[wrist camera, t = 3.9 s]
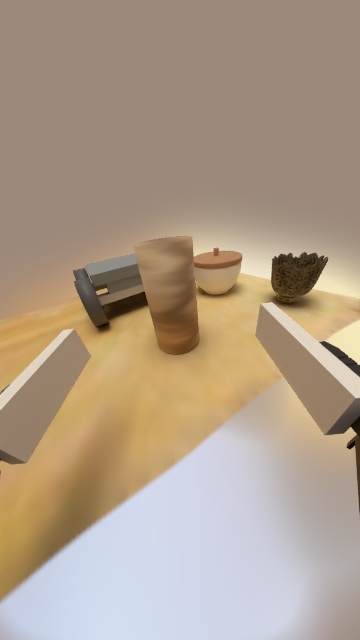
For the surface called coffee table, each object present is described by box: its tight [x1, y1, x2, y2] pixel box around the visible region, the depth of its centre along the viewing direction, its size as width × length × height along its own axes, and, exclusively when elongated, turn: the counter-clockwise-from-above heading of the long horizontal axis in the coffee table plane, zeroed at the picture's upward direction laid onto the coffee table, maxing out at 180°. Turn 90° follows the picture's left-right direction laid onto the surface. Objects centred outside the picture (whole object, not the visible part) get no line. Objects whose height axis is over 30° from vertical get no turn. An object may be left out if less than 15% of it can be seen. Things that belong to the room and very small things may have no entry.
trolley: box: [73, 254, 145, 327], centre depth 36 cm, size 17×19×10 cm
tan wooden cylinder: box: [133, 236, 199, 355], centre depth 21 cm, size 6×6×14 cm
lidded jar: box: [194, 248, 242, 295], centre depth 36 cm, size 11×11×9 cm
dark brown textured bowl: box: [271, 252, 328, 304], centre depth 28 cm, size 8×7×8 cm
